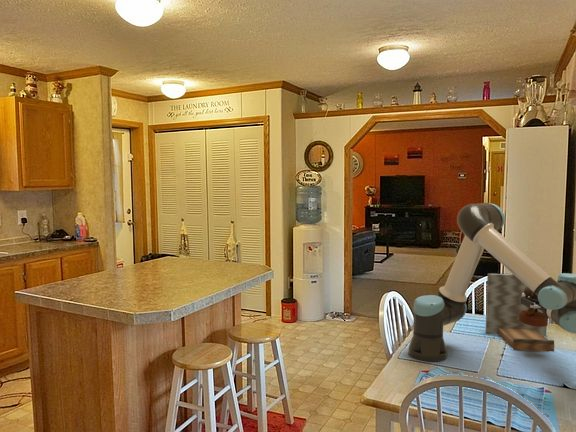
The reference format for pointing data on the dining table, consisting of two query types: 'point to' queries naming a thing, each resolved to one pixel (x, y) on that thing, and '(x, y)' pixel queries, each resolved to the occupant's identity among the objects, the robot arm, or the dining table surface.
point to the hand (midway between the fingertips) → (533, 296)
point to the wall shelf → (512, 315)
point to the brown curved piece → (532, 313)
